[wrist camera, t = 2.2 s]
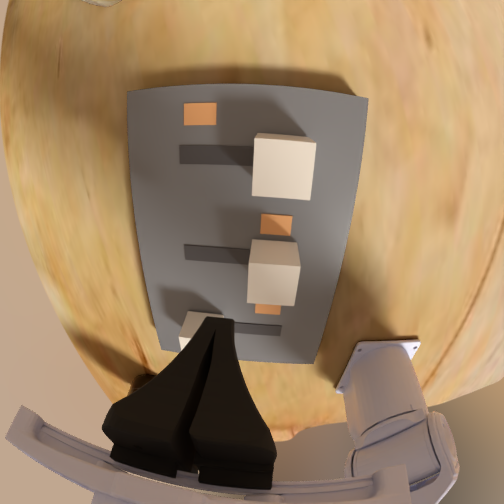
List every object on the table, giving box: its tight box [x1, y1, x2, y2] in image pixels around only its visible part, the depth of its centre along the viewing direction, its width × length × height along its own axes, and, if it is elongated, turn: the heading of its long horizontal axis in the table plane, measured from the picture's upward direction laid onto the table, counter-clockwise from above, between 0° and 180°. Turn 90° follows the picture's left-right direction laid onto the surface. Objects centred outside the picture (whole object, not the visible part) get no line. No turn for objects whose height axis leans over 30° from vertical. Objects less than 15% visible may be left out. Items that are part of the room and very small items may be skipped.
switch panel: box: [127, 84, 368, 364], centre depth 21 cm, size 23×15×2 cm, turn 177°
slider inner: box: [179, 311, 224, 351], centre depth 22 cm, size 3×3×3 cm
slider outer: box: [252, 133, 316, 200], centre depth 15 cm, size 3×3×3 cm
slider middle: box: [247, 239, 301, 306], centre depth 18 cm, size 3×3×3 cm
